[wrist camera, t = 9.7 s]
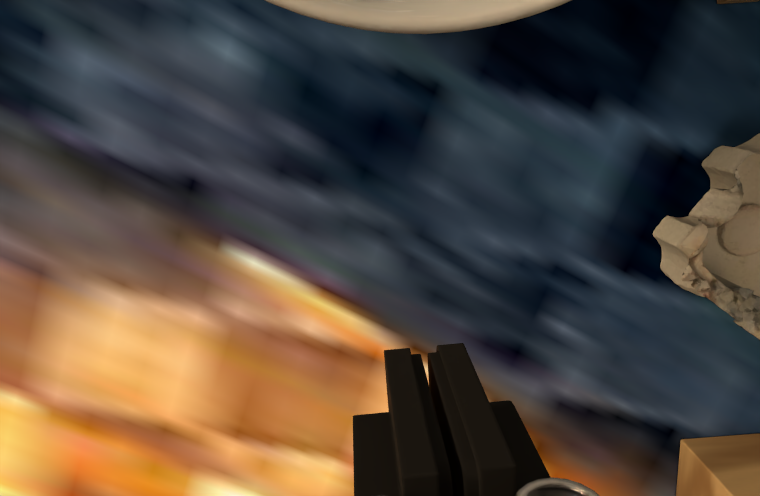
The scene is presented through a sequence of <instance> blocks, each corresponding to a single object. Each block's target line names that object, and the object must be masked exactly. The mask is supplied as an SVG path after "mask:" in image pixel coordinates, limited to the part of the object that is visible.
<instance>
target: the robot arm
mask: <svg viewBox="0 0 760 496" xmlns="http://www.w3.org/2000/svg"><path fill="white" fill-rule="evenodd" d="M384 357H385V370H386V383H387V395H388V408H389V412H385V413H375V414H365V415H354V416H353V451H354V496H599V495H598V494H597V493H596V492H595V491H593V490H591V489H590V488H588V487H586V486H584V485H583V484H580V483H577V482H574V481H571V480H568V479H560V478H550V476H549V474H548V472H547V470H546V468H545V466H544V464H543V462H542V460H541V458H540V456H539V454H538V452H537V450H536V448H535V446H534V444H533V442H532V440H531V438H530V436H529V434H528V432H527V430H526V428H525V426H524V424H523V422H522V420H521V418H520V416H519V414H518V412H517V410H516V408H515V406H514V405H513V403H512V402H511V401H499V402H489V401H488V399H487V396H486V394H485V392H484V389H483V387H482V385H481V383H480V380H479V378H478V376H477V373H476V371H475V369H474V366H473V364H472V362H471V360H470V357H469V355H468V353H467V350H466V348H465V346H464V344H463V343H458V344H448V345H437V352H435V353H428V373H429V385H428V381H427V377H426V373H425V369H424V366H423V362H422V358H421V355H420V354H413V355H411V352H410V348H405V349H394V350H384Z"/></svg>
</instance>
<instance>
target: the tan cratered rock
mask: <svg viewBox="0 0 760 496" xmlns="http://www.w3.org/2000/svg"><path fill="white" fill-rule="evenodd" d="M702 167H703V168H704V169H705V171H706V172H707V174H708V175H709V177H710V183H711V184H710V190H709V191H708V192H707V193H706V194H705V195H704V197H703V198H702V199H701V200H700V201H699V202H698V203H697V204H696V206H695V207H694V208H693V209H692V210H691V211H690V213H689V216H687V217H683V218H676V217H671V216H666V217H665V218H663V219H662V221H661V223H660V224H659V225H658V226H657V227H656V228H655V230H654V232H653V236H654V237H655V238H656V239H657V241H658V242H659V244H660V245H661V249H662V260H661V264H660V267H661V270H662V271H663V272H664V273H665V275H666V276H668V277H669V278H671V280H672V281H673V282H674V283H675V284H677V285H679V286H680V287H681V288H683V289H684V290H686V291H687V290H688V291H690V292H692V293H694V294H697V295H699V296H701V297H706V298H708V299H709V300H711V301H712V302H714V303H715V304H716V305H717V306H718V307H720V308H721V309H722V310H724V311H725V312H727V313H729V315H730V316H732V317H733V318H734V319H735V321H734V322H735V323H736V324H737V325H739V326H741V327H742V328H744V329H745V330H746V331H748V332H749V333H751V334H752V335H754V336H755V337H757V338H758V339H759V340H760V134H757V135H756V136H755V137H753V138H752V139H750V140H749V141H747V142H745V143H743V144H741V145H739V146H736V147H728V146H723V145H722V146H720V147H718V148H715V149H714V150H713V151H712V153H711V154H710V155H709V156H708V157H707V158H706V159H705V160H703V162H702Z"/></svg>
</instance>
